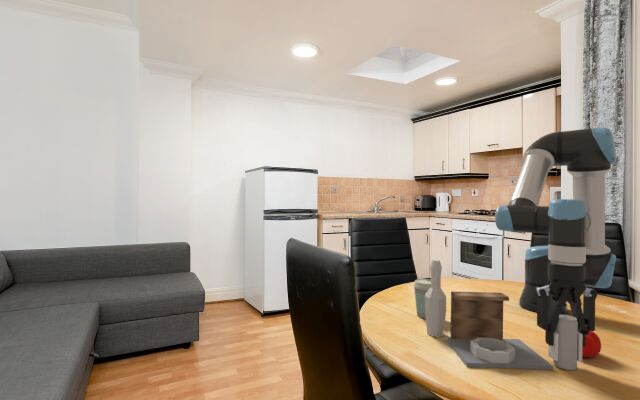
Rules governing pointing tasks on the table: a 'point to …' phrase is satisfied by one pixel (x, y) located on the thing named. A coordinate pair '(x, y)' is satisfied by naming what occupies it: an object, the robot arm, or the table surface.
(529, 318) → the table surface
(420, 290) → the coffee cup
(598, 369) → the table surface
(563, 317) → the beverage can
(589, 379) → the table surface
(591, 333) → the tomato
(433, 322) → the low poly bottle
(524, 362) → the socket board
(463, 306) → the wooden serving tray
